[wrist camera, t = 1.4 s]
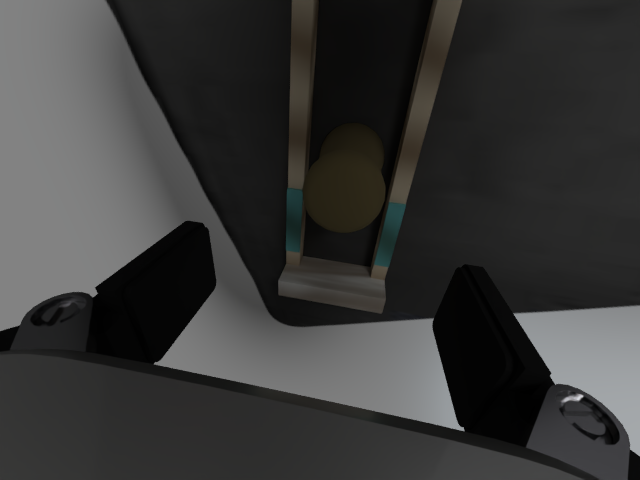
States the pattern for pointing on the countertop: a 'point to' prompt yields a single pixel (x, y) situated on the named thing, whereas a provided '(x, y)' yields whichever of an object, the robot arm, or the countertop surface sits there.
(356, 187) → the dark brown rounded piece
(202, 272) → the robot arm
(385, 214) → the guide channel
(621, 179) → the countertop surface
